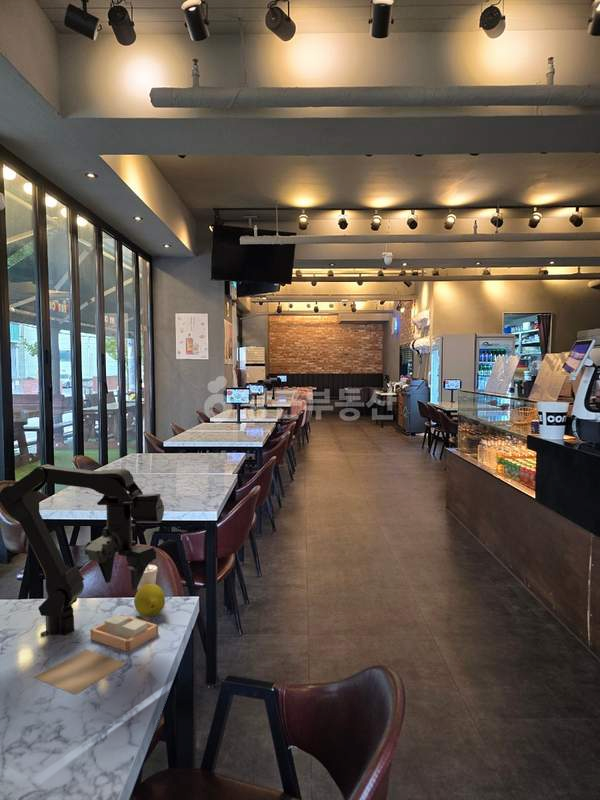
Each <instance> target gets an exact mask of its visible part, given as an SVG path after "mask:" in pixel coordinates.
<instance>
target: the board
mask: <svg viewBox="0 0 600 800" xmlns="http://www.w3.org/2000/svg"><path fill="white" fill-rule="evenodd" d="M126 665H128V663H127V662H123V661H121V660H118V659H115V658H113V657H111V656H107V655H103V654H100V653H98V652H95V651H93V650H90V649H84V650H82V651H81V652H79V653H77V654H74V655H73V656H70V657H69V658H67V659H65V660H63V661H62V662H59V663H57V664H55V665H54V666H52V667H50V668H48V669H45V670H44V671H42V672H41V673H39V674H37V675H35V676H33V678H34V679H37V680H38V681H41V682H44V683H46V684H49V685H50V686H53V687H56V688H58V689H61V690H62V691H65V692H68V693H70V694H72V695H74V696H75V695H78V694H80V693H82V692H83V691H84V690H86V689H88V688H89V687H91V686H92V685H94V684H96V683H97V682H99V681H101V680H102V679H104V678H106V677H107V676H109V675H110V674H112V673H114V672H116V671H117V670H119V669H121V668H123V667H124V666H126Z"/></svg>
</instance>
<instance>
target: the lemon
mask: <svg viewBox="0 0 600 800" xmlns="http://www.w3.org/2000/svg"><path fill="white" fill-rule="evenodd" d="M133 600H134V601H133V603H134V607H135V609H136V612H137V613H138V614H139V615H141V616H143V617H146V618H148V617H151V618H152V617H154V616H156V615H158V614H159V613H161V611H162V610H163V609H164V607H165V605H166V604H165V603H166V596H165V593H164V591H163V589H162V588H161V587H160V586H159V585H158V584H156V583H155V584H146V585H144V586H142V587H141V588H140V589H139V590H138V589H137V592H136V593H135V596H134V599H133Z"/></svg>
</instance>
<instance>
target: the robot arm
mask: <svg viewBox="0 0 600 800" xmlns="http://www.w3.org/2000/svg"><path fill="white" fill-rule="evenodd" d="M134 480H135V479H134V476H133V474H132V473H131V471H130V470H128V469H125V468H115V469H114V468H113V469H105V470H104V469H103V470H89V469H83V468H74V467H65V466H57V465H52V464H50V463H49V464H48V463H47V464H42V465H39V466H36V467H35V468H34V469H33V470H32V471H30V472H29V473H28V474H26V475H25V476H24V477H22V478H20V479H19V480H18V481H16V482H15V483H12V484H9V485H6V486H5V487H3V488H2V489H1V491H0V505H1V507H2V508H3V509H4V510H5V512H6V513H7V515H9V516H10V517H11V518H13V519H14V520H16V521H17V522H18V523H19V525H20V527H21V529H22V531H23V533H24V535H25V537H26V538H27V540H28V543H29V545H30V547H31V549H32V551H33V553H34V554H35V557H36V558H37V560H38V562H39V565H40V566H41V568H42V570H43V573H44V575H45V591H46V594H47V598H46V599H45V600H44V601H43V602H42V603H41V604H40V605H39V606H38V611H39V613H40V616H42V617H45V631H44V630H43V631H42V632H40V634H39V635H40V636H42V637H44V638H45V637H47V636H50V635H52V636H59V635H60V636H67V635H70V634H71V633H73V632H75V615H74V608H73V606H72V605H73V604H74V603H76V602H77V601H78V597H80V596H81V595H82V594H83V590H84V587H85V583H84V580H85V578H84V576H83V575H82V574H81V572H80V569H79V567H78V566H77V565H75V566H73V567H71V566H70V565H68V564H66V562H65V560H64V558H63V556H62V554H61V553H60V550H59V548H58V547H57V545H56V543H55V540H54V539H53V537H52V535H51V533H50V530H49V529H48V527H47V524H46V523H45V521H44V519H43V517H42V515H41V513H40V498H39V493H38V492H40V490H42V489H44V487H45V486H46V485H47V484H53V485H54V484H55V485H60V486H68V487H75V488H76V487H77V488H86V489H90V490H93V491H94V492H96V493H97V494H98V493H99V494H101V495H103V496H102V498H101V499H100V500H99V501H97V502H96V504H97V506H106V507H105V508H106V526H105V527H103V528H102V531H101V536H100V537H98V538H96V539H94V540H91V541H88V542H87V543H86V545H85V547H84V549H85V550H84V551H85V555H87V557H88V558H89V559H88V560H90V561H91V562H92V561H93V562H97V565H98V566H99V568H100V572H101V574H102V576H103V579H104V581H105V583H106V584H108V583H110V582H111V580H112V575H113V572H114V571H113V570H114V564H115V563H114V562H115V556H116V555H118V556H124V557H125V558H126V562H127V564H125V565H126V567H127V568H128V569H129V570H130V581H131V582H130V584H131V589H132V590H133V591H134V590H138V589H137V587H138V585H139V583H140V580H141V578H142V576H143V574H144V571H145V569H146V568H147V566H148V564H149V565H150V563H152V562H153V561H154V560H156V559H157V550H156V549H155V547H152V546H148V545H141V546H138V547H136V546H137V541H136V540H133V530H136V524H133V522H132V521H134V522H135V523H137V524H139V523H144V524H145V523H146V524H147V523H152V524H153V523H157V524H158V523H160V524H161V523H162V521H163V519H164V514H165V512H164V511H165V505H164V504H163V500H162V498H161V493H153V494H152V493H151V494H144V492H143V491H142V489H141V488H140V487H139V486H138V484H137V483H136V482H135V481H134ZM133 547H135V548H133Z"/></svg>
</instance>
